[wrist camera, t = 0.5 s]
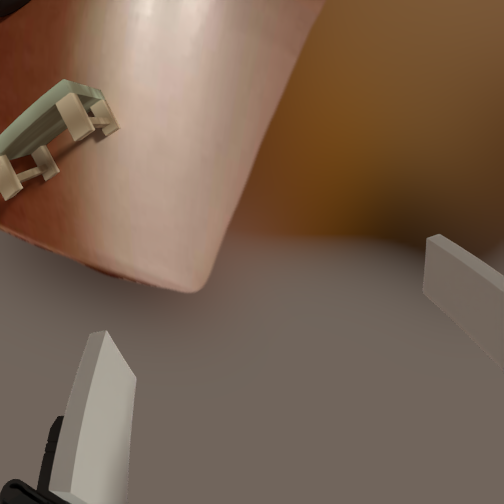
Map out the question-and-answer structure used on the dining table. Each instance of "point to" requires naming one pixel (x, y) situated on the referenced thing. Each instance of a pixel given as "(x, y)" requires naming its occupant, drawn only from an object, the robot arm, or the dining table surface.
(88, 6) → the dining table surface
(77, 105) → the footstool
